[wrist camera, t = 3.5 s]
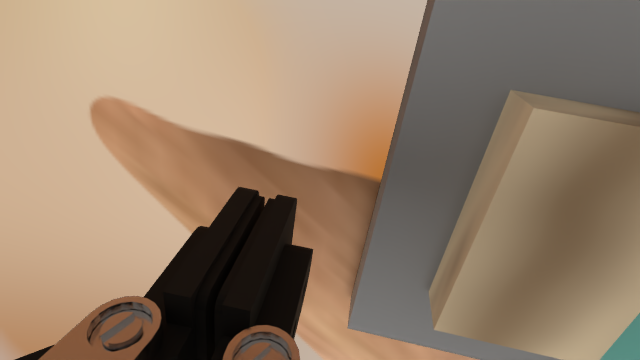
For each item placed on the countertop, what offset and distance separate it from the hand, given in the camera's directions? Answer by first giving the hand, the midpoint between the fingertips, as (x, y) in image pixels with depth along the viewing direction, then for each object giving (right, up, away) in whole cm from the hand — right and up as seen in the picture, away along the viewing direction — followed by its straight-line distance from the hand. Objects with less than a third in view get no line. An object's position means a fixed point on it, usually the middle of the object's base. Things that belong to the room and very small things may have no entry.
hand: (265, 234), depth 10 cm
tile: (+10, 0, +3) cm, 10 cm away
